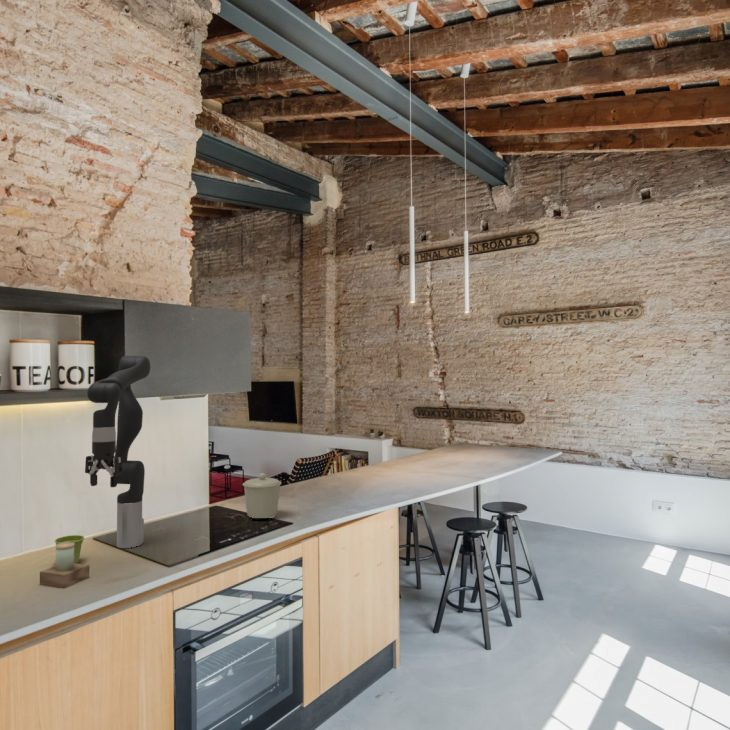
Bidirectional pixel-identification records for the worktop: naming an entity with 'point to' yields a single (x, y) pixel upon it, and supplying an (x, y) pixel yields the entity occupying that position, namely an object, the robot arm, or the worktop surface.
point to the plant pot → (76, 539)
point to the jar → (65, 556)
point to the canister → (262, 496)
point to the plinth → (64, 576)
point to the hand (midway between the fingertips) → (103, 486)
